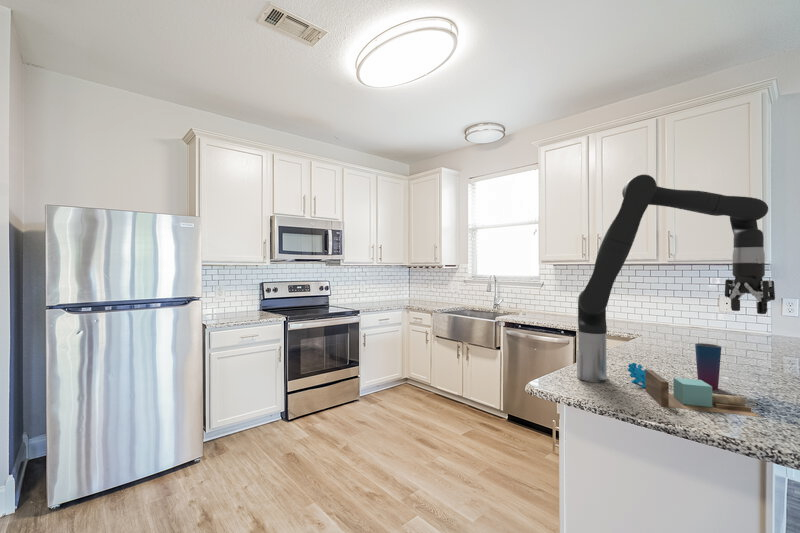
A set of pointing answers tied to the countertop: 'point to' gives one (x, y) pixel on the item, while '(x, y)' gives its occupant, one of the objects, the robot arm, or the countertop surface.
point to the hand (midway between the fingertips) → (748, 312)
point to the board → (660, 394)
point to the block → (692, 392)
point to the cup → (708, 363)
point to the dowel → (728, 400)
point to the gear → (637, 374)
